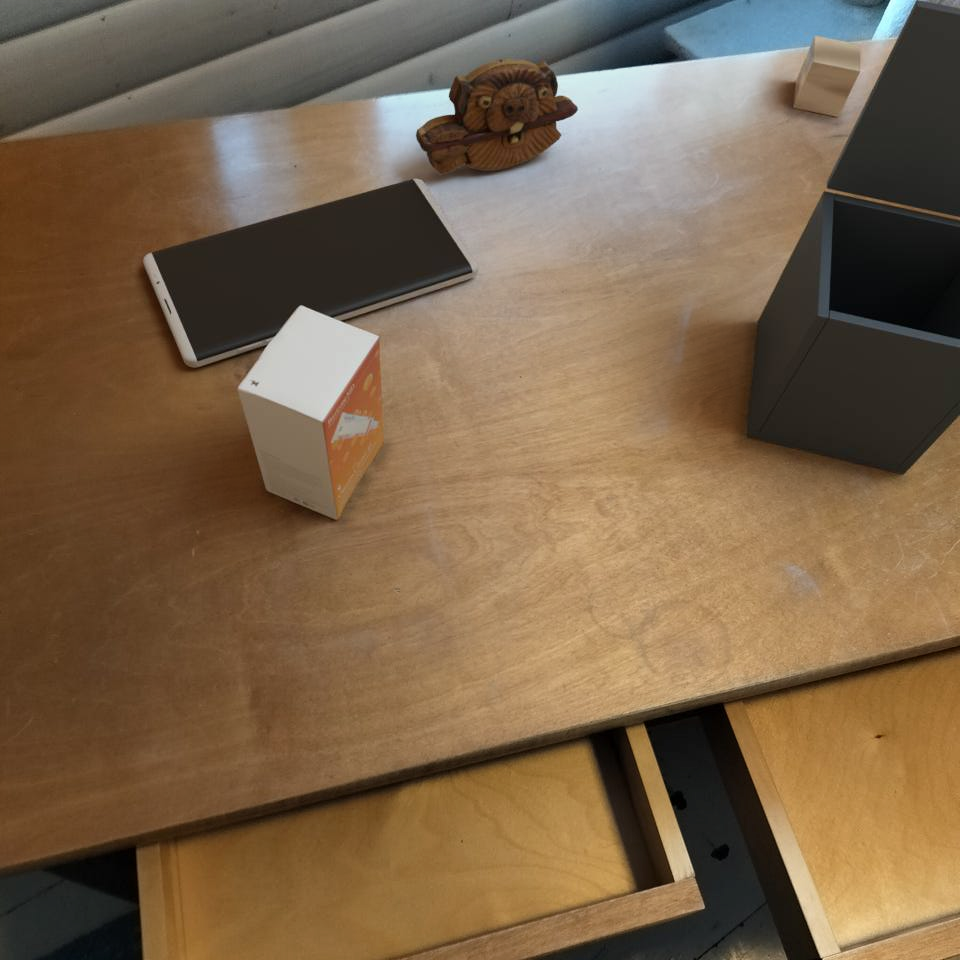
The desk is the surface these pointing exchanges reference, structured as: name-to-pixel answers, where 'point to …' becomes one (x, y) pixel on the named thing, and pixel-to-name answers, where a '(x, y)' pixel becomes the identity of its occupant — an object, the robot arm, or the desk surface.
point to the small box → (315, 410)
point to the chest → (862, 336)
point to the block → (827, 76)
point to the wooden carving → (497, 117)
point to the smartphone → (306, 268)
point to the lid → (911, 120)
